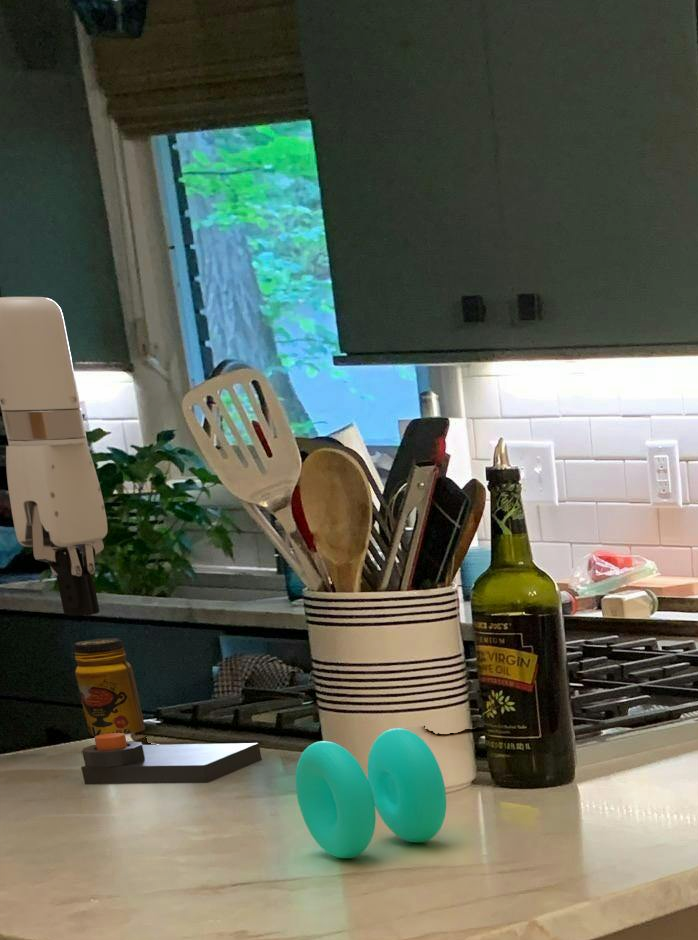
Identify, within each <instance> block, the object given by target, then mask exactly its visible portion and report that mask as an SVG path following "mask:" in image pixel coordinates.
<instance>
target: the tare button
mask: <svg viewBox="0 0 698 940" xmlns="http://www.w3.org/2000/svg"><path fill="white" fill-rule="evenodd" d="M93 737H94V742H95V745H96V747H97V750H111V749H119V748H124V747H127V742H126V741H127V737H126V734H124V733H108V734H101V735H97V736H93Z"/></svg>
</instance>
